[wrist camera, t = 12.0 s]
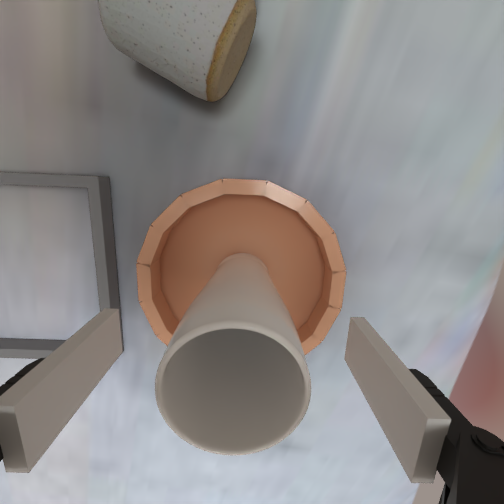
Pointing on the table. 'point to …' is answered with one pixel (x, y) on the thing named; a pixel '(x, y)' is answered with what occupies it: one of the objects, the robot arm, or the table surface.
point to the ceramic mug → (184, 39)
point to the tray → (101, 243)
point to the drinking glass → (234, 364)
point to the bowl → (242, 241)
